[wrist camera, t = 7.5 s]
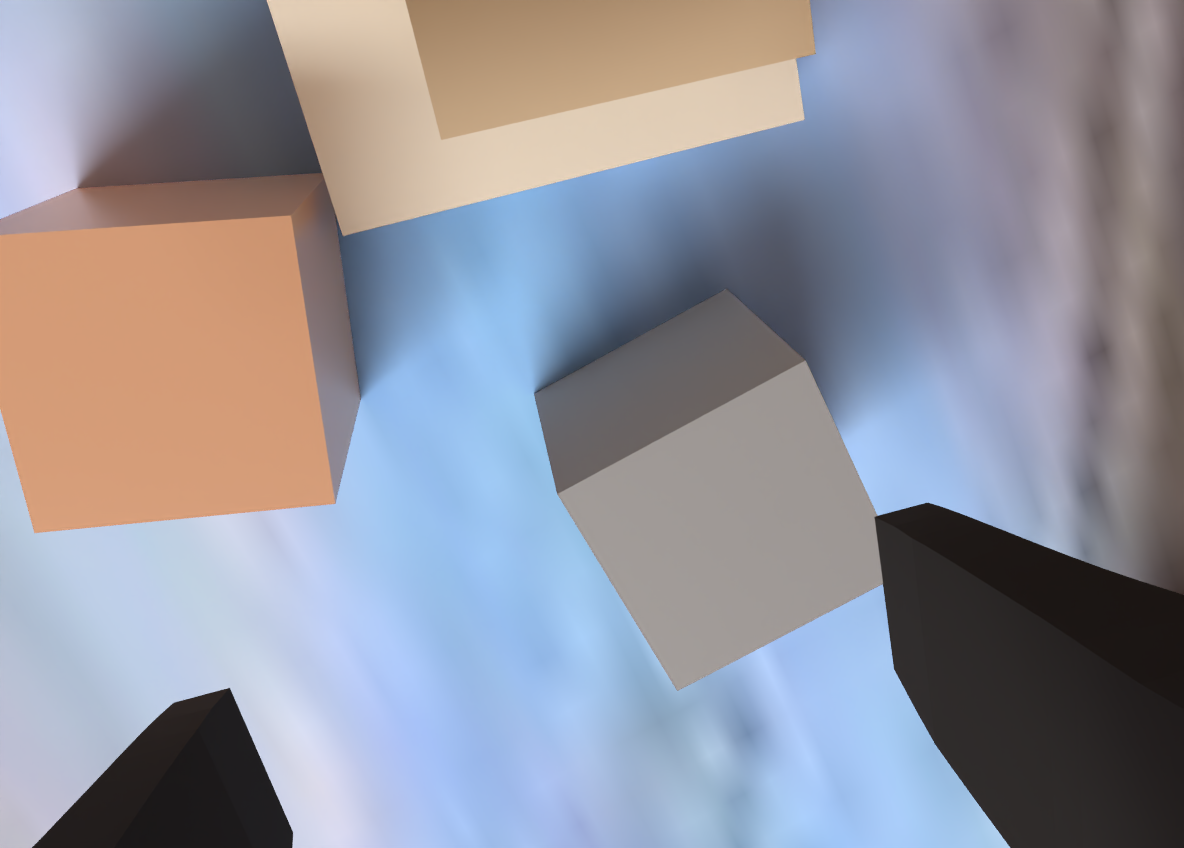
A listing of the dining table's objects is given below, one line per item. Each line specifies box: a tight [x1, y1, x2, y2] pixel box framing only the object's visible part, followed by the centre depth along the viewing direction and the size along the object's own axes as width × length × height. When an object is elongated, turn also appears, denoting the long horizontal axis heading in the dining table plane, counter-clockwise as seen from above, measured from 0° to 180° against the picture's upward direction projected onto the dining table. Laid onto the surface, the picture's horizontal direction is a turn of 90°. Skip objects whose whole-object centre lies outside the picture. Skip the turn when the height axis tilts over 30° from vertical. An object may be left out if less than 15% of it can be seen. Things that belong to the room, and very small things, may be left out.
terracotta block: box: [0, 173, 361, 533], centre depth 17 cm, size 4×4×5 cm
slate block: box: [534, 289, 883, 691], centre depth 19 cm, size 4×4×5 cm
